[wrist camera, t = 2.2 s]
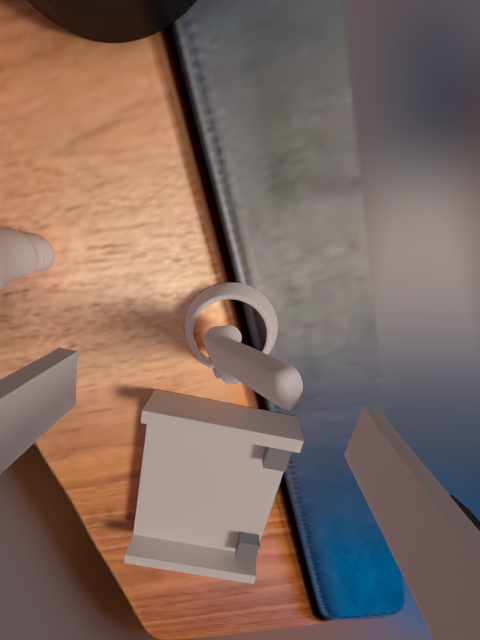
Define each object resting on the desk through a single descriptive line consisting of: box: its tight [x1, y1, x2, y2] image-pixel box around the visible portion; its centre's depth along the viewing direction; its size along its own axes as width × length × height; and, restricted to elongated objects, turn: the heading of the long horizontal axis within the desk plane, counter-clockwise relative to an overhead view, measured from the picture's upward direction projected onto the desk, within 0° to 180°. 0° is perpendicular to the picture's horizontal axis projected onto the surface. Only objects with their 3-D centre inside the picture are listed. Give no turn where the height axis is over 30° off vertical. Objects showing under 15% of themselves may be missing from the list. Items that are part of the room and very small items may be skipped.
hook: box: [185, 282, 303, 410], centre depth 18 cm, size 8×12×7 cm
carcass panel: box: [124, 389, 304, 584], centre depth 24 cm, size 18×13×3 cm
